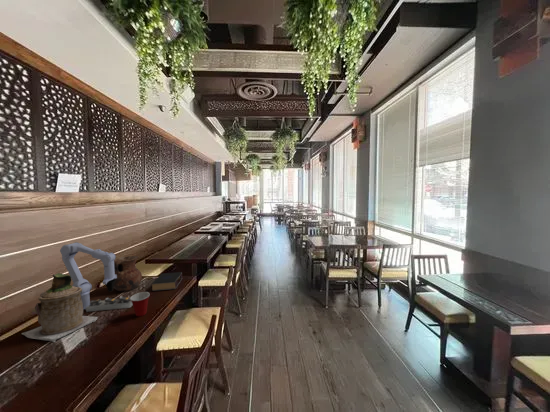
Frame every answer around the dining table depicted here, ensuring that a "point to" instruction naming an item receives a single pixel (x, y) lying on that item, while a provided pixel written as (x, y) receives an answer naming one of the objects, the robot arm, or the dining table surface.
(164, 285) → the book
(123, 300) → the rocker
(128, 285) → the jug
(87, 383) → the dining table surface
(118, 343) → the dining table surface
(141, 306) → the plastic cup
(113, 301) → the rocker
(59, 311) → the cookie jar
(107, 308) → the power strip
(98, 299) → the rocker
